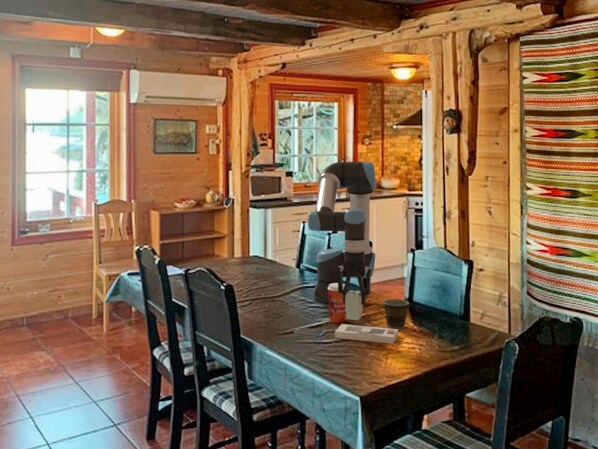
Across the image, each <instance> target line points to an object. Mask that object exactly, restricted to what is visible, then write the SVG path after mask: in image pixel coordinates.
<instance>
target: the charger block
mask: <svg viewBox="0 0 598 449" xmlns="http://www.w3.org/2000/svg"><path fill="white" fill-rule="evenodd" d="M360 295H361V292H360V290H348V292H347V310H346V312H345V320H353V321H359V320H360V319H361V318H362V313H359V296H360Z"/></svg>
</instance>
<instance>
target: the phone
mask: <svg viewBox="0 0 598 449" xmlns="http://www.w3.org/2000/svg"><path fill="white" fill-rule="evenodd" d="M326 332H327V331H326V330H321V329H314V328H304V327H298V328H297V329H295V331H293V334H297V335H299V334H300V335H306V336H316V337H322V336H323V335H324V334H325V333H326Z"/></svg>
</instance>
